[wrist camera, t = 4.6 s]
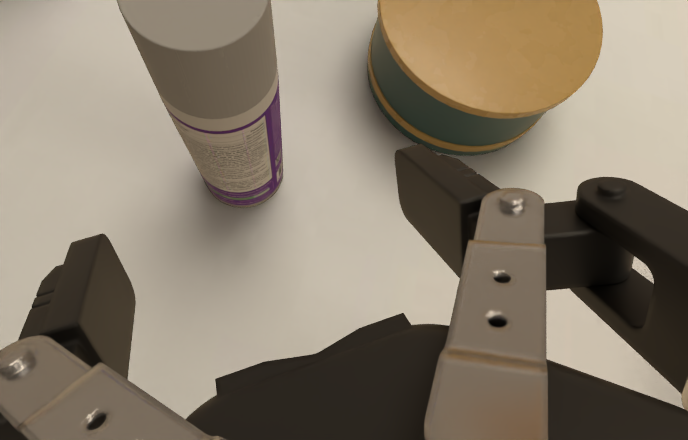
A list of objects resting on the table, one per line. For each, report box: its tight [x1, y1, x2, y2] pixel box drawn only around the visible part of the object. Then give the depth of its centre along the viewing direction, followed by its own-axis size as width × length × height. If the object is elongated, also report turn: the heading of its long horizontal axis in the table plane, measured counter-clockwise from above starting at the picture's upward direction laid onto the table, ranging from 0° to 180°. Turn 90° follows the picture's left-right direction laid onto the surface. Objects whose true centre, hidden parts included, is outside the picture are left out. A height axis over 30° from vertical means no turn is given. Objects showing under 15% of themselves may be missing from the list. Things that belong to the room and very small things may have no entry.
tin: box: [367, 0, 603, 156], centre depth 29 cm, size 13×13×6 cm
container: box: [117, 0, 283, 207], centre depth 21 cm, size 5×5×15 cm
